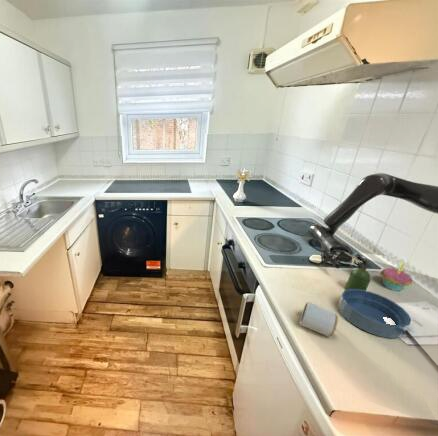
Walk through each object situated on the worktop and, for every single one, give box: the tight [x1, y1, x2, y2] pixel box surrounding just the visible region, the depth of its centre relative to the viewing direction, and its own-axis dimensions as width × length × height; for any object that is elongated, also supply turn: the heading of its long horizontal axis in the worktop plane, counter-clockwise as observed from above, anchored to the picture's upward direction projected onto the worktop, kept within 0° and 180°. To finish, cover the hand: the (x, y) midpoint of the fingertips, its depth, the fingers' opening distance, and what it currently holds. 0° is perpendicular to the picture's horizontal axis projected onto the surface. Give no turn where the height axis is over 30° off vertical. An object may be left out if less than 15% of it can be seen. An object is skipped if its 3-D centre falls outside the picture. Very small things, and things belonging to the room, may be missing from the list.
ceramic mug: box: [299, 301, 339, 337], centre depth 73 cm, size 11×8×8 cm
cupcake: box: [379, 262, 413, 292], centre depth 89 cm, size 9×8×12 cm
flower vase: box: [232, 167, 253, 203], centre depth 180 cm, size 13×18×25 cm
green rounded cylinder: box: [344, 268, 371, 291], centre depth 87 cm, size 6×6×10 cm
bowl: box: [337, 289, 412, 339], centre depth 76 cm, size 16×16×5 cm
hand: (351, 268), depth 92 cm, fingers open, 8 cm apart
